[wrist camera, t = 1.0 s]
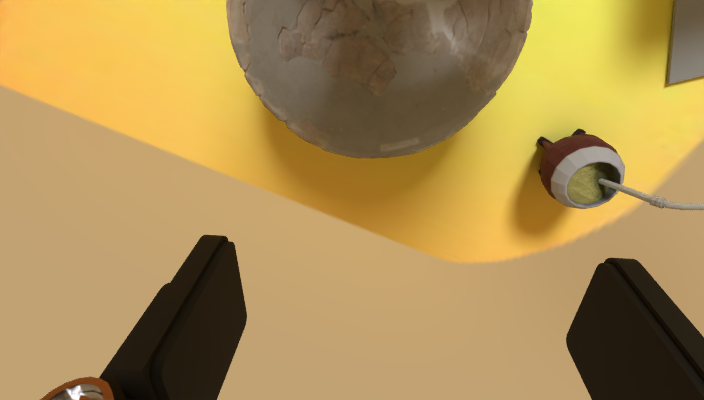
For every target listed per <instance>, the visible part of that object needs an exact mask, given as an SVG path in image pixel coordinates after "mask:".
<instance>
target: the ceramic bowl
mask: <svg viewBox="0 0 704 400" xmlns="http://www.w3.org/2000/svg"><path fill="white" fill-rule="evenodd" d="M532 6H533V1H532V0H227V5H226V7H227V19H228V27H229V34H230V39H231V44H232V46H233V49H234V52H235V54H236V57H237V60H238V62H239V65H240V67H241V68H242V69H243V70H244V72H245V78H246V80H247V82H248V83H249V85H250V86H251V88H252V89H253V91H254V93H255V94H256V96H259V98H260V100H261V101H262V103H263V104H264V106H265V107H266V108H267V109H268V110H269V111H270V112H272V113H273V114H274V115H275V117H276V118H277V119H278V120H280V121H284V122H286V125H287V127H288V128H289V129H290V130H291V131H292V132H294V133H295V134H296V135H298V136H299V137H300V138H302V139H303V140H305V141H307V142H309V143H312V144H314V145H316V146H318V147H320V148H322V149H323V150H325V151H329V152H332V153H336V154H340V155H344V156H348V157H354V158H386V157H395V156H402V155H409V154H413V153H416V152H420V151H422V150H425V149H427V148H429V147H431V146H434V145H436V144H438V143H440V142H442V141H444V140H446V139H447V138H449V137H451V136H452V135H454V134H455V133H456V132H458V131H459V130H460V129H462V128H463V127H465V126H466V125H467V124H468V123H469V122H470V121H471V120H472V119H473V118H474V117H475V116H476V115H477V114H478V112H479V111H481V110H482V109H483V108H484V107H485V106H486V105H487V104H488V103H489V101H490V100H491V99H492V98H493V97H494V96H495V95H496V91H497V90H498V89H499V88H500V86H501V85H502V84H503V82H504V81H505V80H506V78H507V77H508V75H509V74H510V73H511V71H512V69H513V67H514V65H515V63H516V61H517V59H518V57H519V55H520V52H521V50H522V48H523V46H524V43H525V40H526V37H527V30H528V29H529V27H530V23H531V18H532V14H531V9H532Z"/></svg>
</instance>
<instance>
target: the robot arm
mask: <svg viewBox="0 0 704 400" xmlns="http://www.w3.org/2000/svg"><path fill="white" fill-rule="evenodd" d="M246 319H247V313H246V307H245V301H244V296H243V290H242V284H241V279H240V272H239V267H238V261H237V256H236V250H235V245H234V243H233V242H229V241H228V238H227V237H226V236H216V235H203V236H202V237H201V238H200V239H199V241H198V242H197V244H196V245H195V247H194V248H193V250H192V251H191V253H190V254H189V256H188V257H187V259H186V260H185V262H184V263H183V265H182V266H181V268H180V269H179V270H178V272H177V273H176V275H175V276H174V278H173V280H172V281H171V282H170V283H167V284H165V285H164V286H163V287H162V288H161V289H160V291H159V292H158V293H157V295H156V296H155V298H154V299H153V301H152V302H151V304H150V305H149V307H148V308H147V309H146V311H145V312H144V314H143V315H142V317H141V318H140V319H139V321H138V322H137V324H136V325H135V327H134V328H133V330H132V331H131V333H130V334H129V335H128V337H127V338H126V340H125V341H124V343H123V344H122V345H121V347H120V348H119V350H118V351H117V353H116V354H115V355H114V357H113V358H112V360H111V361H110V363H109V364H108V366H107V367H106V369H105V370H104V371H103V373H102V374H101V376H100V377H99V378H95V377H84V378H78V379H75V380H72V381H69V382H66V383H64V384H62V385H61V386H59V387H57V388H55V389H53V390H52V391H50V392H49V393H48V394H46V395H45V396H44V397H43V398H42V399H40V400H217V398H218V395H219V392H220V390H221V387H222V385H223V382H224V380H225V377H226V374H227V372H228V369H229V367H230V364H231V361H232V359H233V356H234V354H235V351H236V349H237V346H238V343H239V341H240V338H241V336H242V333H243V330H244V328H245V325H246ZM566 343H567V347H568V350H569V352H570V354H571V357H572V359H573V361H574V363H575V365H576V367H577V369H578V371H579V373H580V375H581V378H582V380H583V382H584V384H585V386H586V388H587V390H588V392H589V394H590V396H591V399H592V400H704V337H703V336H702V335H701V334H700V332H699V331H698V330H697V329H696V328H695V327H694V325H693V324H692V323H691V322H690V321H689V320H688V319H687V317H686V316H685V315H684V314H683V313H682V311H681V310H680V309H679V308H678V307H677V306H676V305H675V303H674V302H673V301H672V300H671V299H670V297H669V296H668V295H667V294H666V293H665V292H664V290H663V289H662V288H661V287H660V286H659V285H658V284H657V282H656V281H655V280H654V279H653V278H652V276H651V275H650V274H649V273H648V272H647V271H646V269H645V268H644V267H643V266H642V265H641V264H640V263H639V262H638V261H637V260H635V259H623V258H608V259H606V260H605V262H604V263H601V264H599V265H598V266H597V268H596V270H595V273H594V275H593V277H592V279H591V281H590V284H589V286H588V288H587V291H586V293H585V295H584V297H583V300H582V302H581V304H580V306H579V309H578V311H577V313H576V316H575V318H574V320H573V322H572V324H571V327H570V329H569V331H568V333H567V337H566Z"/></svg>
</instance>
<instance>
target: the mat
mask: <svg viewBox="0 0 704 400" xmlns="http://www.w3.org/2000/svg"><path fill="white" fill-rule="evenodd" d="M700 76H704V0H674V8H673V19H672V30H671V41H670V52H669V62H668V73H667V83H668V84H671V83H675V82H679V81H683V80H688V79H692V78H696V77H700Z"/></svg>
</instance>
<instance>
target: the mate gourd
mask: <svg viewBox="0 0 704 400" xmlns="http://www.w3.org/2000/svg"><path fill="white" fill-rule="evenodd" d="M585 133H586V132H585V131H584V130H582V129H577V130H576V131H575V132H574V133H573V134H572V135H571V136H569V137H565V138H562V139H560V140H559V141H557V142H555V143H552V142H551V141H549V140H547V139H546V138H544V137H540V138H539V139H538V140H537V142H538V143H539V144H540V145H541V146H543V147H544V148H545V150H546V151H545V153H544V155H543V158H542V161H541V165H540V170H539V174H540V175H541V181H542V183H543V185H544V187H545V188H546V190H547V191H548V193H549V195H551V196H552V197H553V198H554V199H556V200H557V201H559V202H561V203H562V204H564V205H565V206H567V207H573V208H579V209H587V208H592V207H598V206H600V205H602V204H604V203H606V202H608V201H609V200H611V199H612V198H613V197H614V196H615V195H616V194H617V193H618V191H621V192H623V193H626V194H629V195H631V196H634V197H636V198H639V199H641V200H644V201H646V202H649V203H650V205H653V206H656V207H659V208H664V207H665V208H671V209H680V210H704V204H692V203H678V202H670V201H667V200H666V199H664V198H660V197H657V196H650V195H647V194H645V193H642V192H639V191H636V190H634V189H631V188H628V187H626V186H623V185H622V184H623V181H624V171H625V166H624V164H623V162H622V160H621V158H620V155H618V153H617V151H616V150H615V149H614V148H613V147H612V146H610V145H609V144H607V143H606V142H604V141H603V140H602V139H600V138H598V137H596V136H594V135H589V134H585Z"/></svg>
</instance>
